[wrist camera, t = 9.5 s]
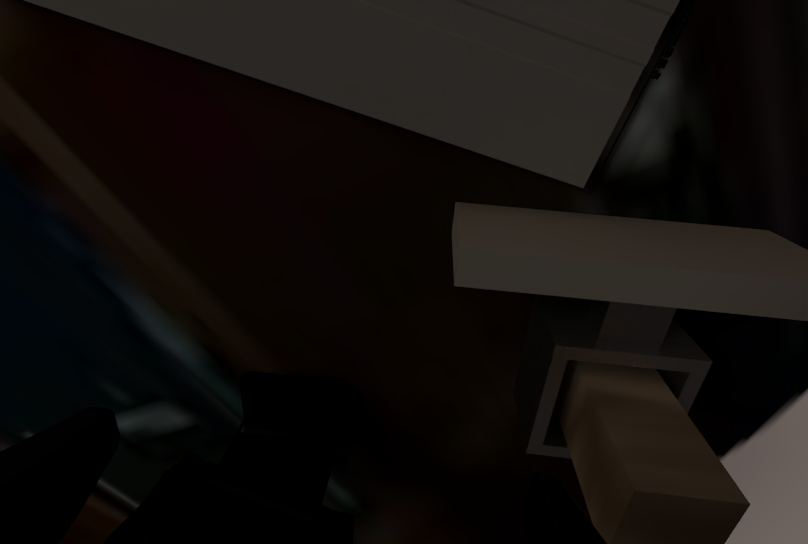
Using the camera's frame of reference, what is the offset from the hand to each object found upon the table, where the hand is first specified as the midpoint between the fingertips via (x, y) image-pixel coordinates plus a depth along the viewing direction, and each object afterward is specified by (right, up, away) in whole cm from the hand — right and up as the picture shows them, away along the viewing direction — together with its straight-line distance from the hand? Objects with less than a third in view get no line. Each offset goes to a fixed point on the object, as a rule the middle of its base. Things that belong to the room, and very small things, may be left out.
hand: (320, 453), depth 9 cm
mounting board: (+11, +6, +11) cm, 16 cm away
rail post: (+11, 0, +11) cm, 15 cm away
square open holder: (+11, +1, +11) cm, 16 cm away
